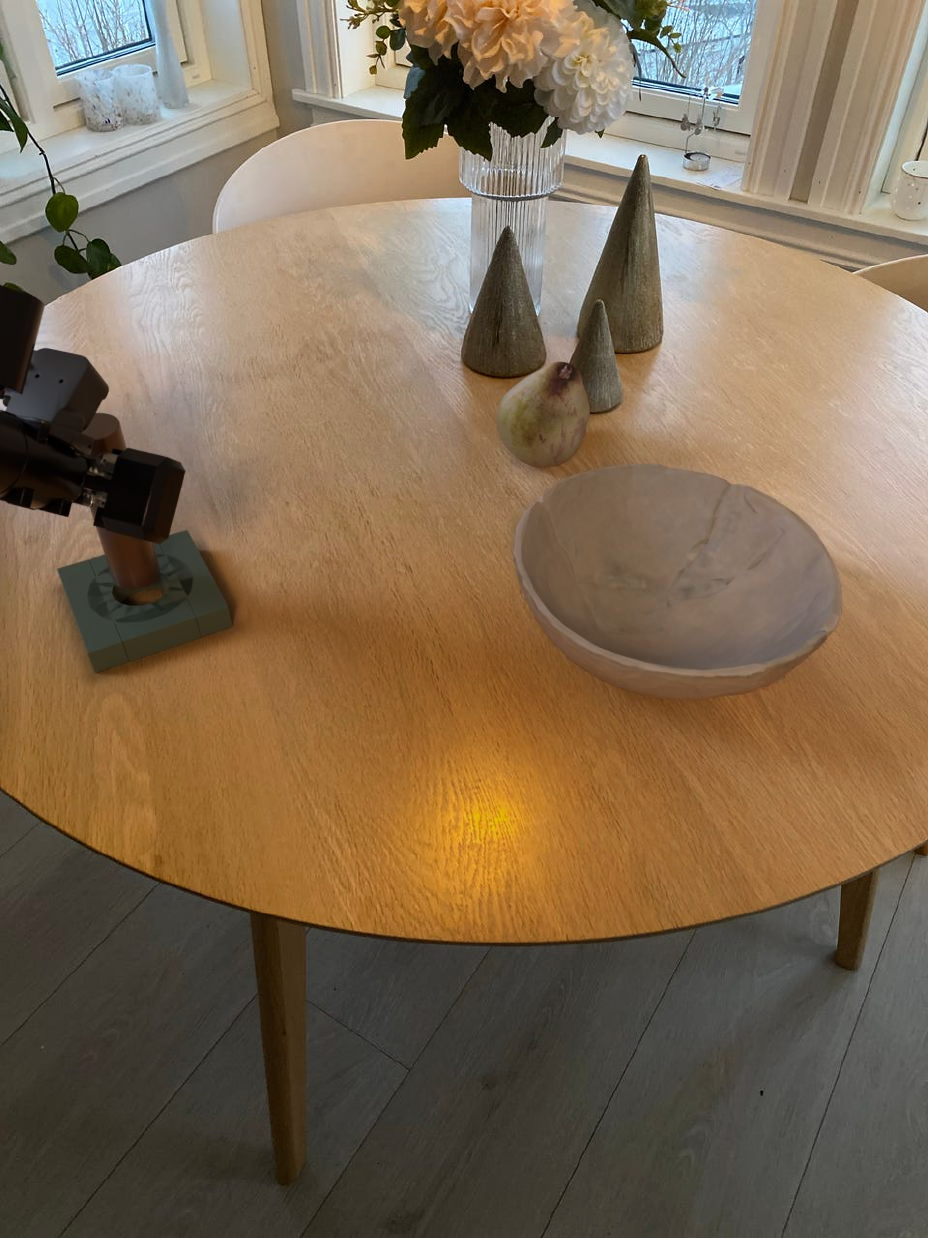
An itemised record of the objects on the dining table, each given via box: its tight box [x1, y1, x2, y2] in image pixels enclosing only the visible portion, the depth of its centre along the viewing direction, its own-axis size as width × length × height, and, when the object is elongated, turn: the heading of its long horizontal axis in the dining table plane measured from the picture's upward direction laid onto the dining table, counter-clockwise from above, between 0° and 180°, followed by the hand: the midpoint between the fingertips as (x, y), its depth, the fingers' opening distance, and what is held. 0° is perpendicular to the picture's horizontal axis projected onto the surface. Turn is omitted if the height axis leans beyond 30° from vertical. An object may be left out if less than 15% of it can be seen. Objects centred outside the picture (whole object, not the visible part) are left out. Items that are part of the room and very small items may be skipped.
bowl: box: [512, 463, 843, 701], centre depth 80 cm, size 26×26×10 cm
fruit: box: [496, 361, 591, 468], centre depth 100 cm, size 10×9×12 cm
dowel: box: [82, 412, 160, 590], centre depth 78 cm, size 4×4×15 cm
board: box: [56, 529, 234, 674], centre depth 85 cm, size 12×12×2 cm
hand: (125, 495), depth 79 cm, fingers closed on dowel, 4 cm apart
